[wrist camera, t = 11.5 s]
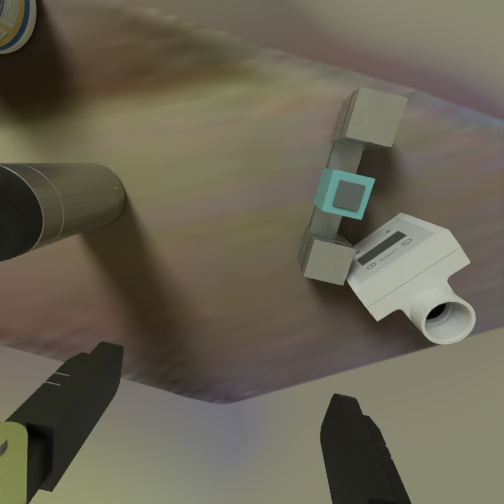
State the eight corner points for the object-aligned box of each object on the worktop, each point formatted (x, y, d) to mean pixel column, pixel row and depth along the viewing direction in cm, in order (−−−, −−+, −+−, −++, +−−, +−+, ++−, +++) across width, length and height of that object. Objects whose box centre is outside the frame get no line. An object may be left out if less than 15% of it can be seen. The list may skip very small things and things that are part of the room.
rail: (296, 254, 46) (302, 276, 37) (339, 103, 40) (360, 86, 31) (328, 262, 47) (343, 286, 37) (377, 113, 40) (408, 98, 31)
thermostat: (400, 212, 44) (465, 235, 29) (449, 281, 46) (530, 333, 32) (332, 260, 46) (361, 303, 32) (382, 323, 49) (429, 389, 35)
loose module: (323, 168, 41) (334, 169, 34) (358, 176, 41) (376, 179, 34) (313, 203, 43) (322, 211, 36) (346, 211, 43) (362, 220, 36)
